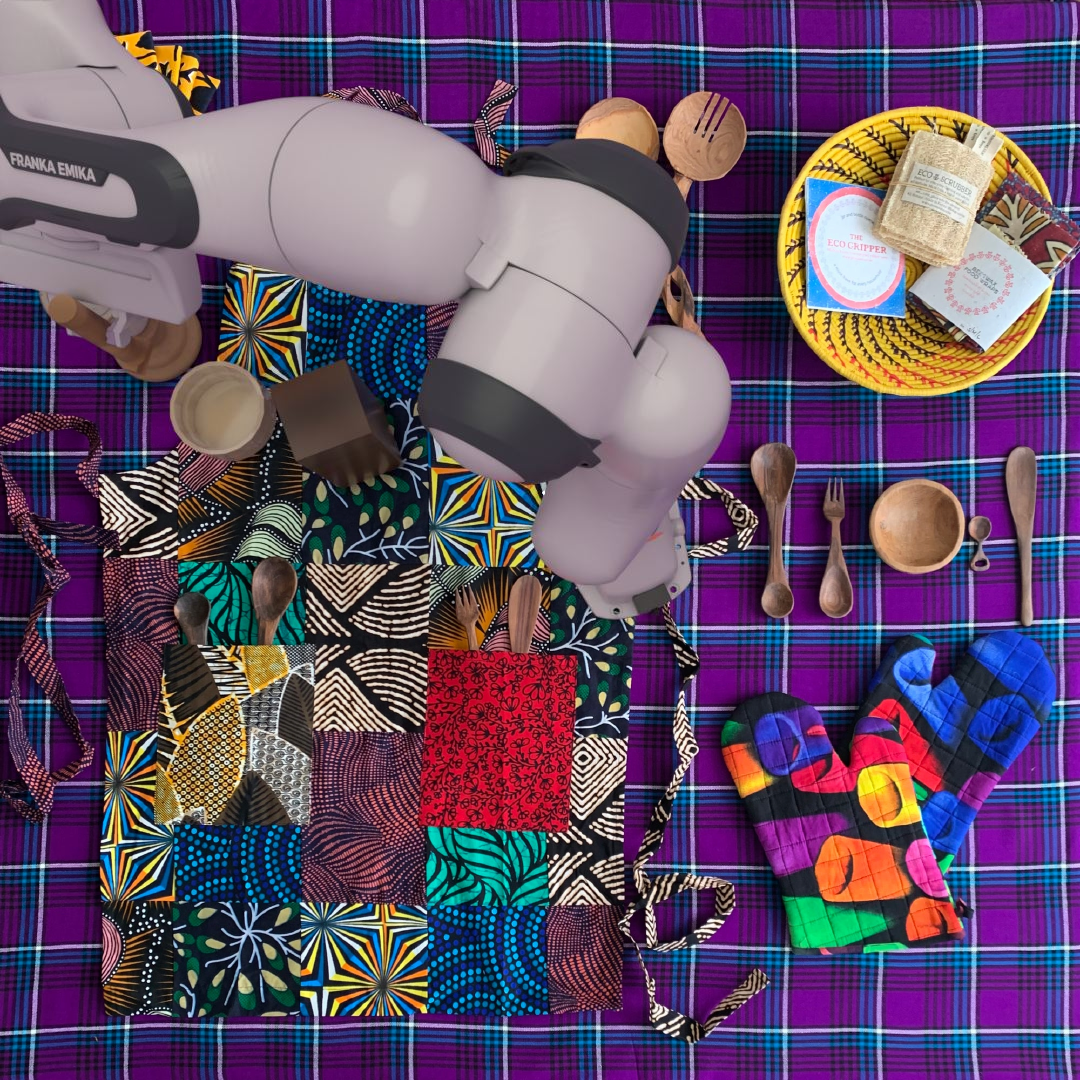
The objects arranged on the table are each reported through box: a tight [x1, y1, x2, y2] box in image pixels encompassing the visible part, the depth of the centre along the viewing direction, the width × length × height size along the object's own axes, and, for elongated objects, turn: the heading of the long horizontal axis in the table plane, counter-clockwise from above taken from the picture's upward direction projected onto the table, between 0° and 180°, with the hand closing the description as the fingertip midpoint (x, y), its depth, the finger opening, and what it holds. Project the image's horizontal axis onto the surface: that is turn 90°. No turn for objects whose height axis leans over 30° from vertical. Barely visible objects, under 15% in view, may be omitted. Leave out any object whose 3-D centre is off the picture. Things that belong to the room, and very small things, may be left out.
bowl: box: [169, 360, 277, 462], centre depth 120 cm, size 12×12×6 cm
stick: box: [48, 294, 154, 376], centre depth 89 cm, size 4×3×16 cm
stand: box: [268, 358, 405, 490], centre depth 112 cm, size 9×9×22 cm
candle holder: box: [38, 291, 203, 383], centre depth 114 cm, size 12×12×20 cm
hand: (100, 339), depth 88 cm, fingers closed on stick, 2 cm apart
